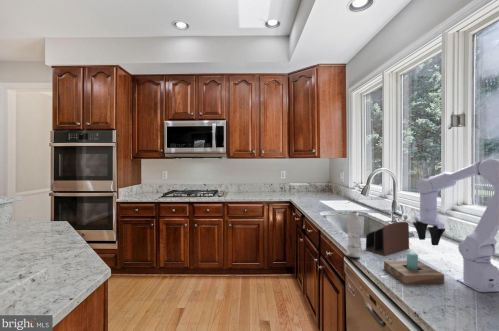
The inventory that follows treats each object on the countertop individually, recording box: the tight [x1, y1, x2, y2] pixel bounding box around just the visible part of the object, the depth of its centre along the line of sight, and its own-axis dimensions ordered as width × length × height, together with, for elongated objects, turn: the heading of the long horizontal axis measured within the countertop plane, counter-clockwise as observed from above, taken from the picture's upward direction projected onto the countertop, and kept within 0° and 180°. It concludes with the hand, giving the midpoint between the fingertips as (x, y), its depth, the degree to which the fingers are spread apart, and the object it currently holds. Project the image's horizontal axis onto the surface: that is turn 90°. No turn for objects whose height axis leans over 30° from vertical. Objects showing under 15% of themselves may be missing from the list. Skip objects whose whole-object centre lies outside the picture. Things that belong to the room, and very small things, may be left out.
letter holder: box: [365, 221, 410, 257], centre depth 134 cm, size 10×20×14 cm, turn 120°
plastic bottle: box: [346, 211, 363, 259], centre depth 124 cm, size 6×7×20 cm
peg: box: [406, 252, 419, 270], centre depth 103 cm, size 4×4×8 cm
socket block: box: [383, 260, 445, 285], centre depth 103 cm, size 14×14×3 cm
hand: (428, 242), depth 112 cm, fingers open, 7 cm apart
